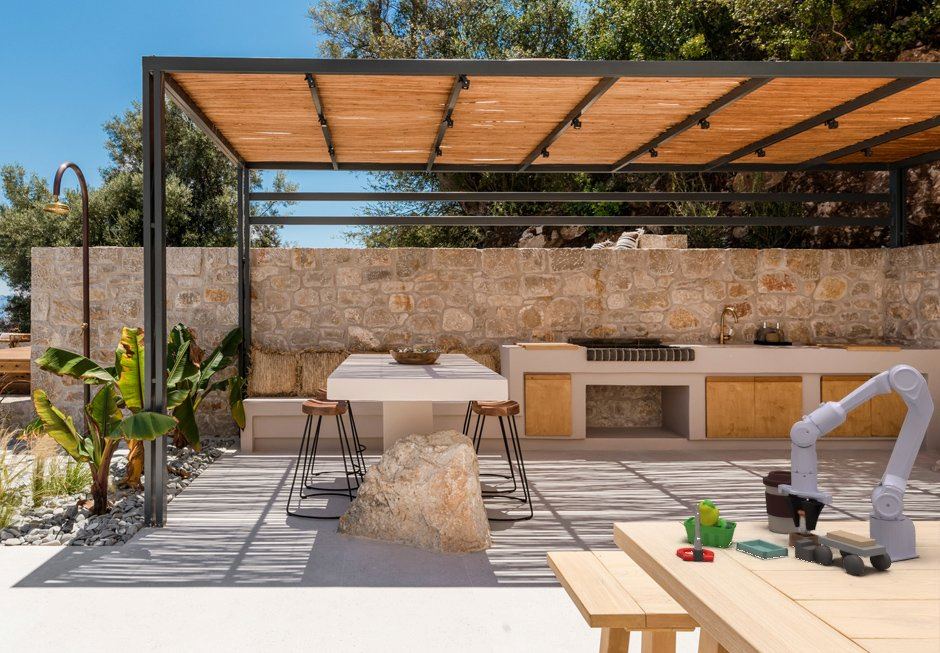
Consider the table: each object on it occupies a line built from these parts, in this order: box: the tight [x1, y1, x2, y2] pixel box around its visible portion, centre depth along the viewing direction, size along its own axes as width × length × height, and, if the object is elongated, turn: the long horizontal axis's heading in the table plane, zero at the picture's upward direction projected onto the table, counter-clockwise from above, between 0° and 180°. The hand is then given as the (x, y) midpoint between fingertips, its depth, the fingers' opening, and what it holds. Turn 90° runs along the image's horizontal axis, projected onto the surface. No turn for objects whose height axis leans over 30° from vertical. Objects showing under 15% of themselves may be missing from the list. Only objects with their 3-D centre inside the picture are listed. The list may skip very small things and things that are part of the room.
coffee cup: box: [762, 470, 800, 534], centre depth 197 cm, size 10×10×15 cm
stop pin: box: [797, 509, 811, 537], centre depth 181 cm, size 3×3×9 cm
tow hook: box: [676, 503, 715, 562], centre depth 175 cm, size 8×13×9 cm
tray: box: [735, 538, 789, 559], centre depth 176 cm, size 7×9×2 cm
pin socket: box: [788, 531, 822, 548], centre depth 181 cm, size 5×5×3 cm
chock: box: [794, 539, 816, 563], centre depth 171 cm, size 4×4×4 cm
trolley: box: [813, 529, 892, 576], centre depth 166 cm, size 12×10×7 cm
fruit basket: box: [682, 499, 738, 548], centre depth 185 cm, size 11×9×11 cm
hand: (805, 528), depth 181 cm, fingers closed on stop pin, 3 cm apart
